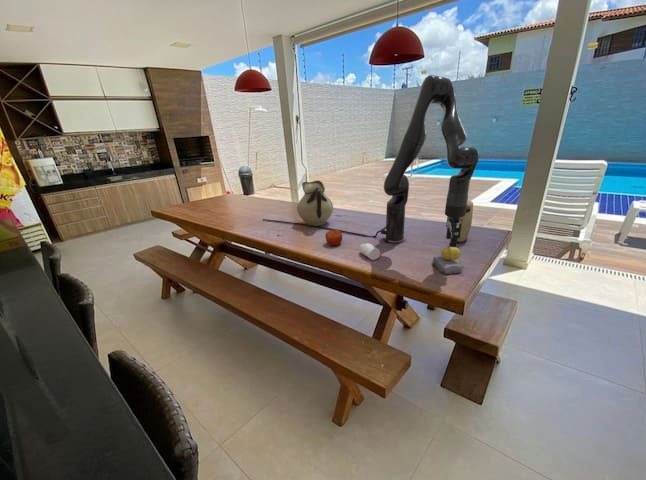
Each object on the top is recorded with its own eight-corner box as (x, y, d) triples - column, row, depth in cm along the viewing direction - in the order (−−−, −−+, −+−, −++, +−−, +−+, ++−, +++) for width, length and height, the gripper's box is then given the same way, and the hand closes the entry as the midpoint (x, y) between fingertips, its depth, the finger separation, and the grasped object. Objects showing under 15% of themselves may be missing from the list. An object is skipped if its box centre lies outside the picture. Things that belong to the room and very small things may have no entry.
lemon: (441, 261, 125) (442, 250, 123) (439, 256, 130) (440, 245, 128) (461, 262, 124) (462, 250, 122) (458, 256, 129) (459, 245, 126)
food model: (463, 244, 150) (469, 204, 141) (450, 241, 154) (455, 202, 146) (471, 239, 156) (477, 200, 147) (458, 236, 160) (463, 198, 152)
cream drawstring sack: (313, 216, 208) (310, 178, 197) (342, 221, 196) (340, 181, 185) (291, 225, 192) (286, 185, 181) (321, 231, 179) (318, 188, 169)
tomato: (331, 248, 155) (331, 233, 151) (322, 243, 162) (321, 229, 158) (346, 244, 159) (346, 229, 155) (337, 239, 166) (336, 225, 163)
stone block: (451, 264, 135) (430, 262, 134) (455, 254, 133) (433, 252, 132) (464, 277, 125) (441, 275, 123) (468, 267, 122) (445, 264, 121)
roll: (367, 249, 151) (367, 239, 149) (380, 258, 141) (380, 247, 138) (356, 252, 149) (356, 241, 147) (368, 261, 139) (368, 249, 136)
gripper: (442, 198, 124) (438, 236, 131) (449, 208, 111) (444, 249, 118) (462, 198, 122) (456, 236, 130) (471, 208, 110) (464, 249, 117)
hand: (450, 242), depth 124 cm, fingers open, 8 cm apart
